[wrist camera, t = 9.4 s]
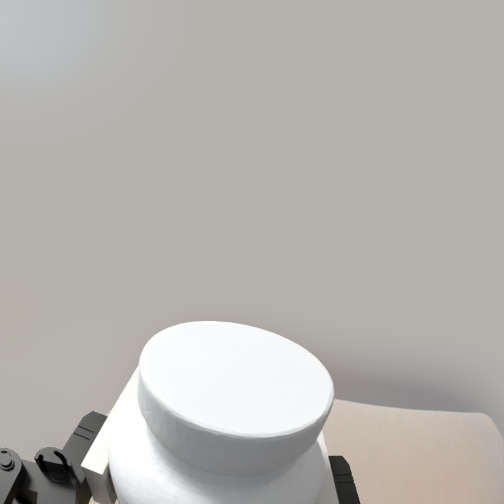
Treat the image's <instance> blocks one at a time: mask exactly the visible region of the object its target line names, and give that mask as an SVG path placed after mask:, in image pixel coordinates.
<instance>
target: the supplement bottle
mask: <svg viewBox="0 0 504 504" xmlns="http://www.w3.org/2000/svg"><path fill="white" fill-rule="evenodd" d="M333 401H334V385H333V381H332V379H331V376H330V375H329V373H328V371H327V370H326V368H325V367H324V366H323V365H322V363H321V362H320V361H319V360H318V359H317V358H316V357H315V356H313V355H312V354H311V353H310V352H308V351H307V350H306V349H304V348H302V347H301V346H300V345H298V344H296V343H294V342H292V341H290V340H288V339H286V338H284V337H282V336H279V335H277V334H274V333H271V332H268V331H265V330H262V329H259V328H255V327H252V326H247V325H242V324H236V323H229V322H217V321H200V322H191V323H183V324H179V325H175V326H173V327H170V328H167V329H165V330H163V331H161V332H160V333H158V334H156V335H155V336H153V337H152V338H151V339H150V341H149V342H148V343H147V344H146V346H145V348H144V349H143V351H142V354H141V357H140V362H139V378H138V390H137V399H135V400H134V401H133V402H132V403H131V404H130V405H129V406H128V407H127V408H126V409H125V410H124V411H123V412H122V413H121V415H120V416H119V418H118V419H117V421H116V423H115V425H114V428H113V430H112V433H111V436H110V441H109V447H108V461H109V468H110V473H111V477H112V481H113V485H114V488H115V492H116V495H117V499H118V502H119V504H316V503H317V501H318V499H319V497H320V495H321V492H322V488H323V484H324V477H325V465H324V459H323V454H322V451H321V448H320V445H319V443H318V441H317V438H318V436H319V434H320V432H321V430H322V428H323V426H324V424H325V422H326V419H327V417H328V415H329V413H330V411H331V408H332V405H333Z"/></svg>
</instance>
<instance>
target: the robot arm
mask: <svg viewBox="0 0 504 504" xmlns="http://www.w3.org/2000/svg"><path fill="white" fill-rule="evenodd" d="M138 378H139V365H138V367H137V369H136V370H135V372H134V374H133V376H132V377H131V379H130V380H129V382H128V384H127V385H126V387H125V389H124V390H123V392H122V394H121V396H120V397H119V399H118V401H117V402H116V404H115V406H114V407H113V409H112V411H111V412H110V414H109V416H108V417H107V416H105V415H102V414H99V413H96V412H94V411H92V412H91V413H89V414H87V415H86V416H84V417H83V418H82V420H81V422H80V423H79V425H78V427H77V428H76V429H75V431H74V433H73V434H72V435H71V437H70V438H69V440H68V441H67V443H66V445H65V446H64V448H63V449H62V450H60V449H57V448H53V447H51V448H50V447H47V448H43V449H41V450H40V451H38V452H37V453H36V455H35V457H34V459H35V461H36V463H33V462H29V461H26V460H21V459H20V457H19V456H18V454H17V453H16V452H14V451H13V450H10V449H8V448H0V504H89V501H90V499H91V497H93V499H94V501H96V502H98V503H101V504H115V502H116V499H117V495H116V492H115V488H114V485H113V481H112V477H111V473H110V468H109V461H108V447H109V441H110V436H111V433H112V430H113V428H114V425H115V423H116V421H117V419H118V418H119V416H120V415H121V413H122V412H123V411H124V410H125V409H126V408H127V407H128V406H129V405H130V404H131V403H132V402H133V401H134V400H135V399H137V390H138ZM317 441H318V443H319V445H320V448H321V451H322V454H323V459H324V465H325V477H324V484H323V488H322V492H321V495H320V497H319V499H318V501H317V503H316V504H360V501H359V497H358V494H357V490H356V487H355V483H354V480H353V476H352V475H351V474H352V473H351V470H350V466H349V464H348V463H347V461H346V460H345V459H344V458H343V456H328V454H327V450H326V445H325V441H324V437H323V433H322V430H321V432H320V434H319V436H318V438H317Z"/></svg>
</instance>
